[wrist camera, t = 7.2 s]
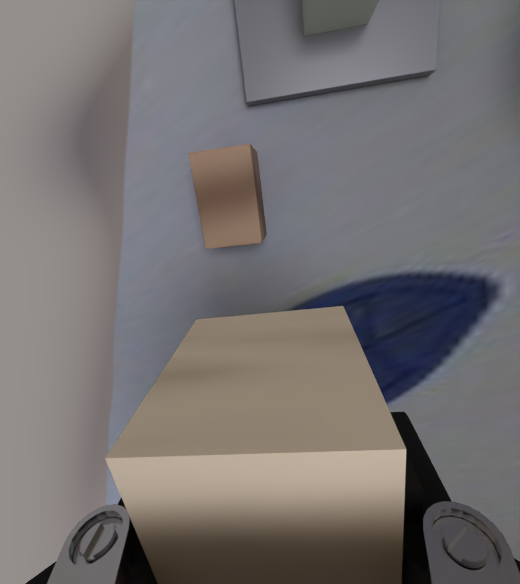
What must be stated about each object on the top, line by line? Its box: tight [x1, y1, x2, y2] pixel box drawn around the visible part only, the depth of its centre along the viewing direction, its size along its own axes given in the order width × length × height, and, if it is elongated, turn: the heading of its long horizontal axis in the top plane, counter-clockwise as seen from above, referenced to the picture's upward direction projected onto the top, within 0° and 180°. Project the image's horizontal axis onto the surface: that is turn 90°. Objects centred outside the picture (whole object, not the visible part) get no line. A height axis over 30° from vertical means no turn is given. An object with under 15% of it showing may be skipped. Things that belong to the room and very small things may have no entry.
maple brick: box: [105, 306, 406, 584], centre depth 8 cm, size 7×4×5 cm, turn 8°
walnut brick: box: [189, 144, 266, 249], centre depth 25 cm, size 7×4×5 cm, turn 7°
